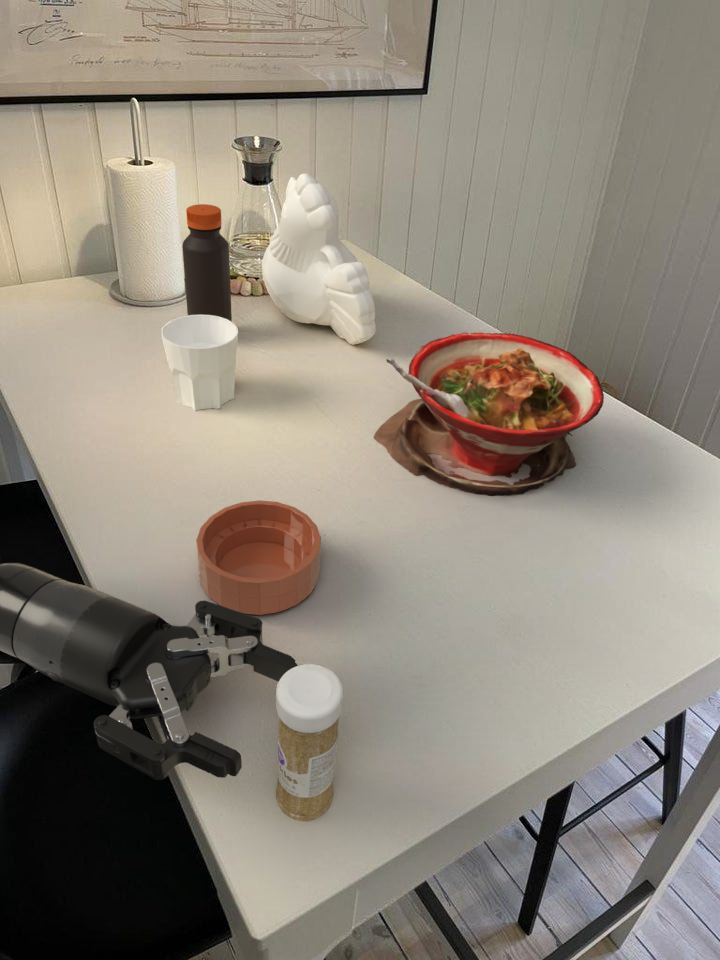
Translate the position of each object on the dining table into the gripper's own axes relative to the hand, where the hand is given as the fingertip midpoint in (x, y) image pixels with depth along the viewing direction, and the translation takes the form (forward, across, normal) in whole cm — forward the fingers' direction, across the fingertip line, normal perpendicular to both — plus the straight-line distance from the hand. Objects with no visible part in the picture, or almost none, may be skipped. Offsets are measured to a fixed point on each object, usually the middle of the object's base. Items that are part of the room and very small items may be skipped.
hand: (269, 718), depth 55 cm
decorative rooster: (-32, +75, +8) cm, 82 cm away
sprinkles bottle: (+3, 0, +8) cm, 9 cm away
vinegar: (-46, +63, +8) cm, 78 cm away
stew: (+2, +52, +8) cm, 53 cm away
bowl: (-12, +20, +8) cm, 25 cm away
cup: (-37, +47, +8) cm, 60 cm away
